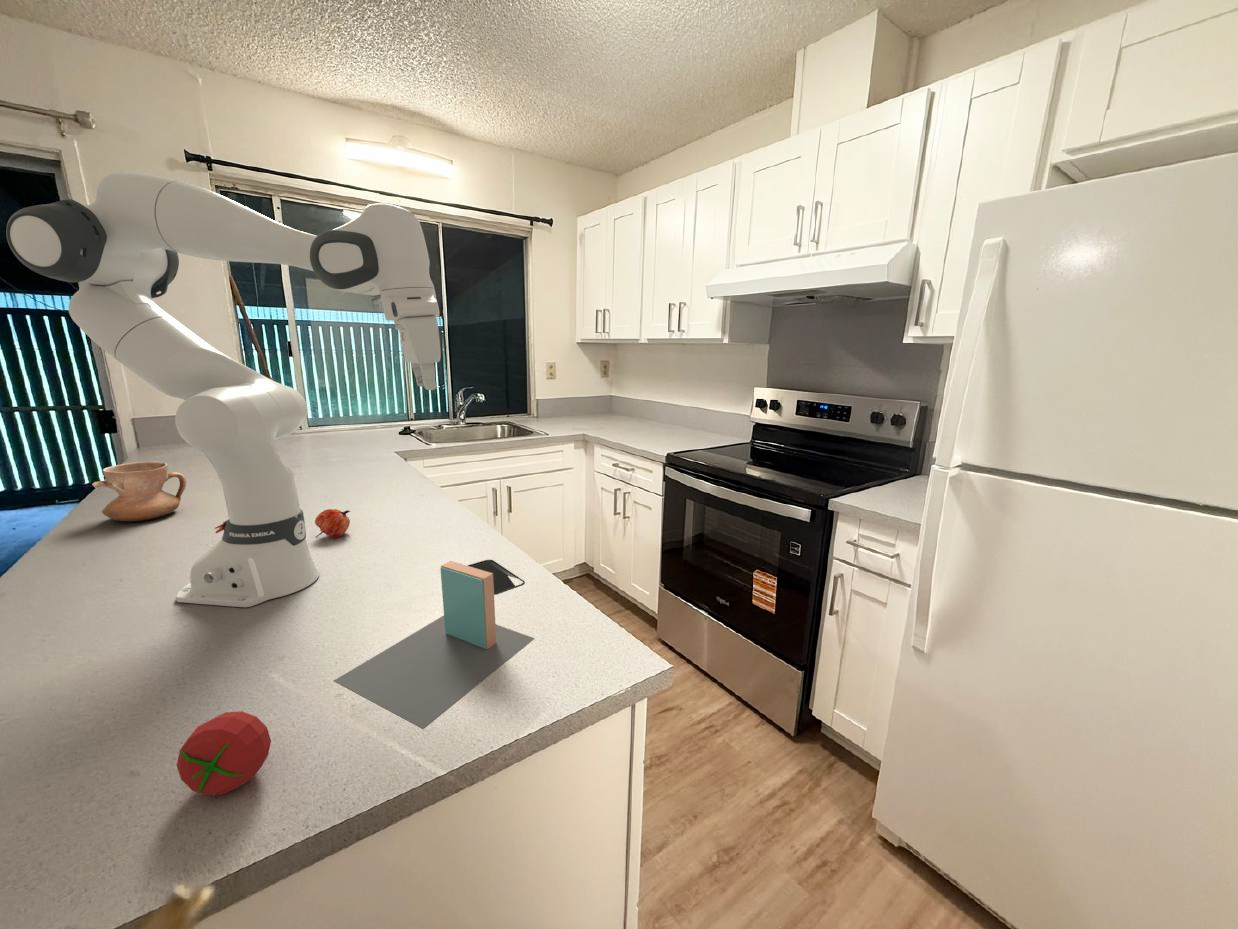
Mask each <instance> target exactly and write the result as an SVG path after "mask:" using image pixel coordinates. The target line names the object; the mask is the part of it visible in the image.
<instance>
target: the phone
mask: <svg viewBox="0 0 1238 929" xmlns="http://www.w3.org/2000/svg"><path fill="white" fill-rule="evenodd" d="M466 566H470V567H473V568H476V569H480V570H483V571H487V572H490V573H493V583H494V596H495V595H498V594H501V593H504V592H507V591H509V590H510V591H511V590H512V589H515V588H519V587H522V586H523V585H524V584H525V583H526V582H525V581H524V579H522V578H520V577H519V576H518V575H516V574H514V573H513V572H511V571H510V570H509V569H507V568H506V567H505V566H502V565H501V564H500V563H498V562H497V561H495V560H494V559H485V560H481V561H477V562H474V563H471V564H468V565H466ZM510 577H511V578H514V579H517V580H520V581H521V582H522V583H519V584H518V585H515V584H514V582H513V581H512V579H511V578H510Z"/></svg>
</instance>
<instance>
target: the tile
mask: <svg viewBox="0 0 1238 929" xmlns="http://www.w3.org/2000/svg"><path fill="white" fill-rule="evenodd" d="M440 579H441V580H440V581H441V592H442V595H441V596H442V606H443V616H444V622H445V633H446V634H449V635H451V636H454V637H456V638H459V639H461V640H464V641H466V642H469V643H471V644H474V645H476V646H479V647H481V648H484V649H489V648H490V647H491V646H493V645H494V644H495V643H496V625H497V624H496V610H495V608H496V607H495V595H494V583H493V573H490V572H487V571H483V570H480V569H476V568H473V567H470V566H467V565H466V564H463V563H460V562H457V561H454V560H453V561H452V560H450V561H447V562H445V563H444V564H443V563H442V564H441V565H440ZM495 624H496V625H495Z"/></svg>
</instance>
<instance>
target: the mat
mask: <svg viewBox="0 0 1238 929" xmlns="http://www.w3.org/2000/svg"><path fill="white" fill-rule="evenodd" d="M495 625H496V643H495V644H494V645H493V646H491V647H490V648H489V649H484V648H481V647H479V646H476V645H474V644H471V643H469V642H466V641H464V640H461V639H459V638H456V637H454V636H451V635H449V634H446V633H445V622H444V615H442V616H440V617H439V618H437V619H435V620H434V621H432V622H430V623H428V624H427V625H425V626H423V627H422V628H420V629H418V630H416V631H415V632H413V633H412V634H410V635H409V636H406V637H405V638H403V639H401V640H400V641H398V642H397V643H395V644H393V645H391V646H390V647H388V648H386V649H385V650H383V651H381V652H379V653H378V654H376V655H374V656H373V657H371V658H369V659H368V660H365V661H364V662H362V663H361V664H359V665H357V666H356V667H354V668H353V669H350V670H349V671H348V672H345V673H344V674H342V675H340V676H339V677H337V678H335V679H334V680H333V682H334V683H337V684H338V685H340V686H342V687H344V688H346V689H347V690H350V691H352V692H354V693H355V694H358V696H359V695H360V696H361V697H363V698H364V699H366V700H369V701H370V702H372V703H373V704H376V705H378V706H379V707H381V708H383V709H386V710H387V711H388V712H391V713H392V714H394V715H396V716H398V717H400V718H402V719H403V720H406V721H407V722H409V723H411V724H412V725H415V726H416V727H418V728H420V729H423V730H424V729H425V728H427V727H428V726H429V725H430V724H431V723H433V722H434V721H435V720H436V719H437V718H439V717H440V716H441V715H442V714H444V712H446V711H447V710H449V709H450V708H451V707H453V705H455V704H456V703H457V702H458V701H460V700H461V699H462V698H463V697H465V696H466V695H467V694H468V693H470V692H471V691H472V690H473V689H474V688H476V687H477V686H479V684H480V683H483V681H485V680H486V679H487V678H488V677H489V676H490V675H491V674H493V673H494V672H495V671H496V670H498V669H499V668H500V667H501V666H503V665H504V664H505V663H506V662H508V661H509V660H510V659H512V658H513V657H514V656H516V654H518V653H519V652H520V651H521V650H522V649H524V648H525V647H527V645H529V644H530V643H531V642H533V641H534V640H535V637H532V636H529V635H526V634H524V633H521V632H518V631H515V630H513V629H511V628H507V627H504V626H502V625H498V624H497V623H495Z"/></svg>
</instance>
